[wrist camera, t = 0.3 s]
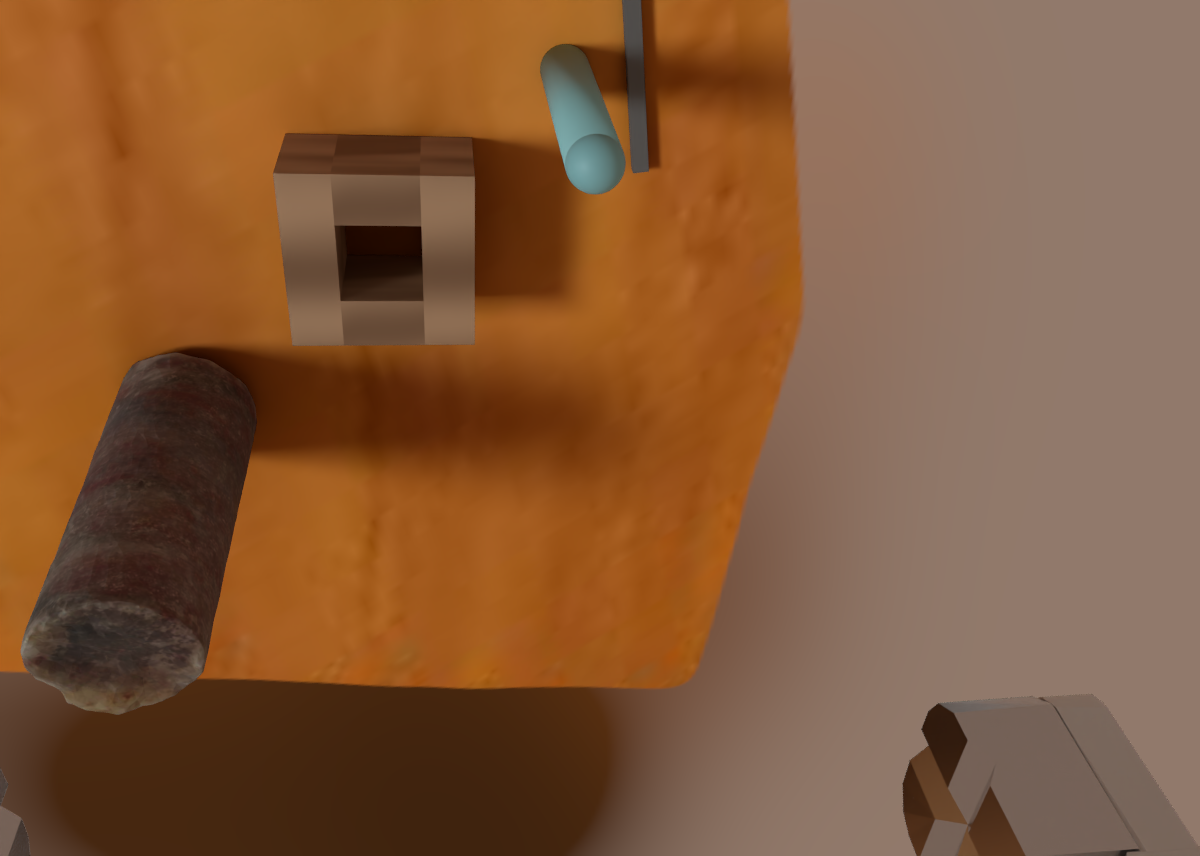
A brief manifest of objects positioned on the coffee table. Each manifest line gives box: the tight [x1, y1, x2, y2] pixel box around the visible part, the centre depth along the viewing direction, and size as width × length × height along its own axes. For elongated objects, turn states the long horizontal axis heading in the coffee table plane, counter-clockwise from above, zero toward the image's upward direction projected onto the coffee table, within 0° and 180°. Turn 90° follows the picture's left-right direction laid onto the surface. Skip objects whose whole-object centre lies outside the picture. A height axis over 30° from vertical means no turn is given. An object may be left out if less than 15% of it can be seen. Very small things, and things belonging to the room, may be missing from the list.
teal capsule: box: [540, 44, 625, 194], centre depth 47 cm, size 2×2×13 cm
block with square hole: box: [273, 134, 475, 346], centre depth 53 cm, size 9×9×5 cm
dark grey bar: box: [622, 0, 649, 173], centre depth 50 cm, size 16×1×1 cm, turn 4°
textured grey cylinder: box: [21, 353, 257, 715], centre depth 52 cm, size 8×7×20 cm
